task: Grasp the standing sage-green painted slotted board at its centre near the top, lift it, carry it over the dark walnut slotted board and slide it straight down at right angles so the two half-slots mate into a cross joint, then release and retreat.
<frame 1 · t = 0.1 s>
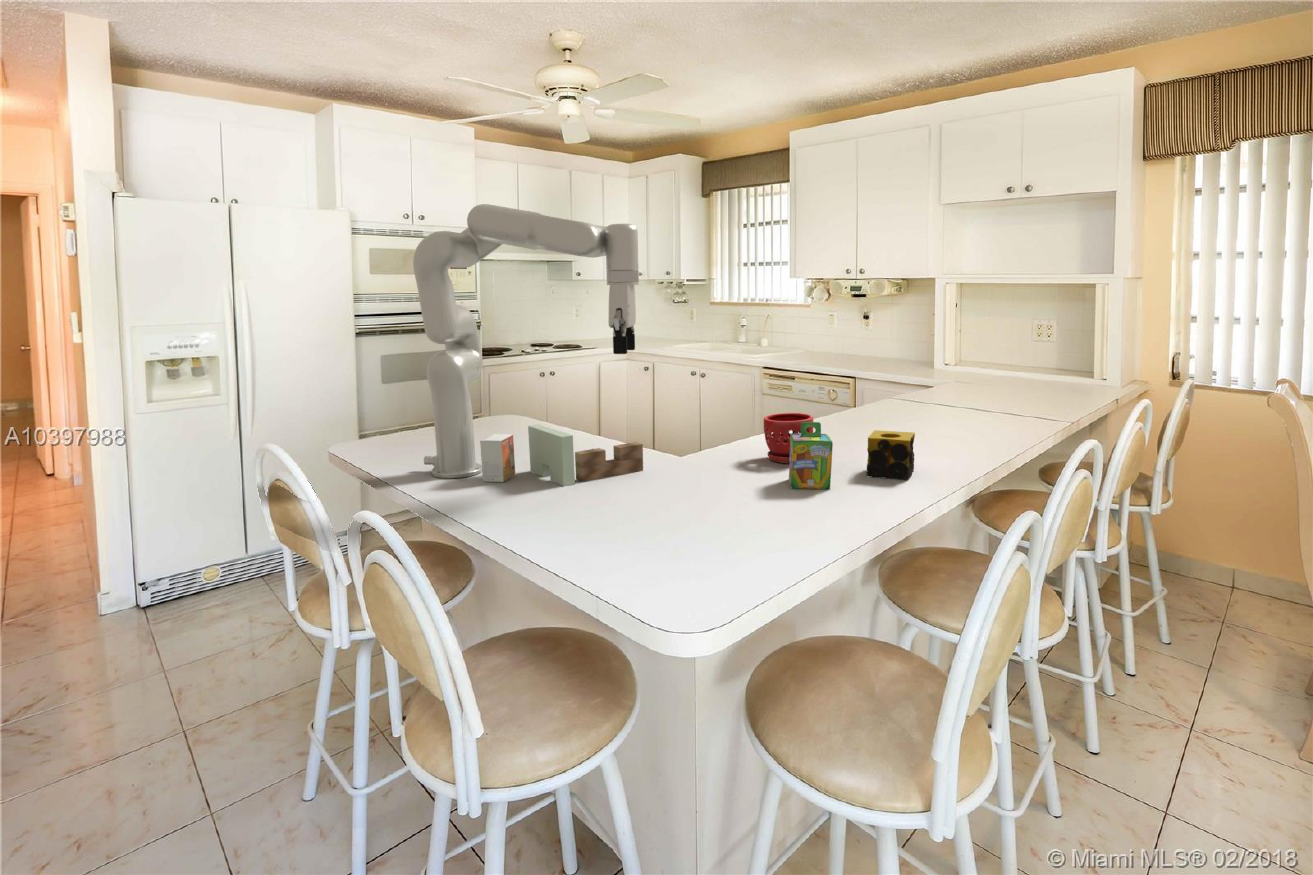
hand: (624, 351, 177), 31 cm above the worktop, fingers open, 9 cm apart
walnut board: (610, 475, 186), on the worktop
chalk box: (809, 485, 175), on the worktop
green board: (551, 477, 184), on the worktop
plant pot: (787, 460, 199), on the worktop
small box: (499, 479, 185), on the worktop
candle: (890, 475, 183), on the worktop
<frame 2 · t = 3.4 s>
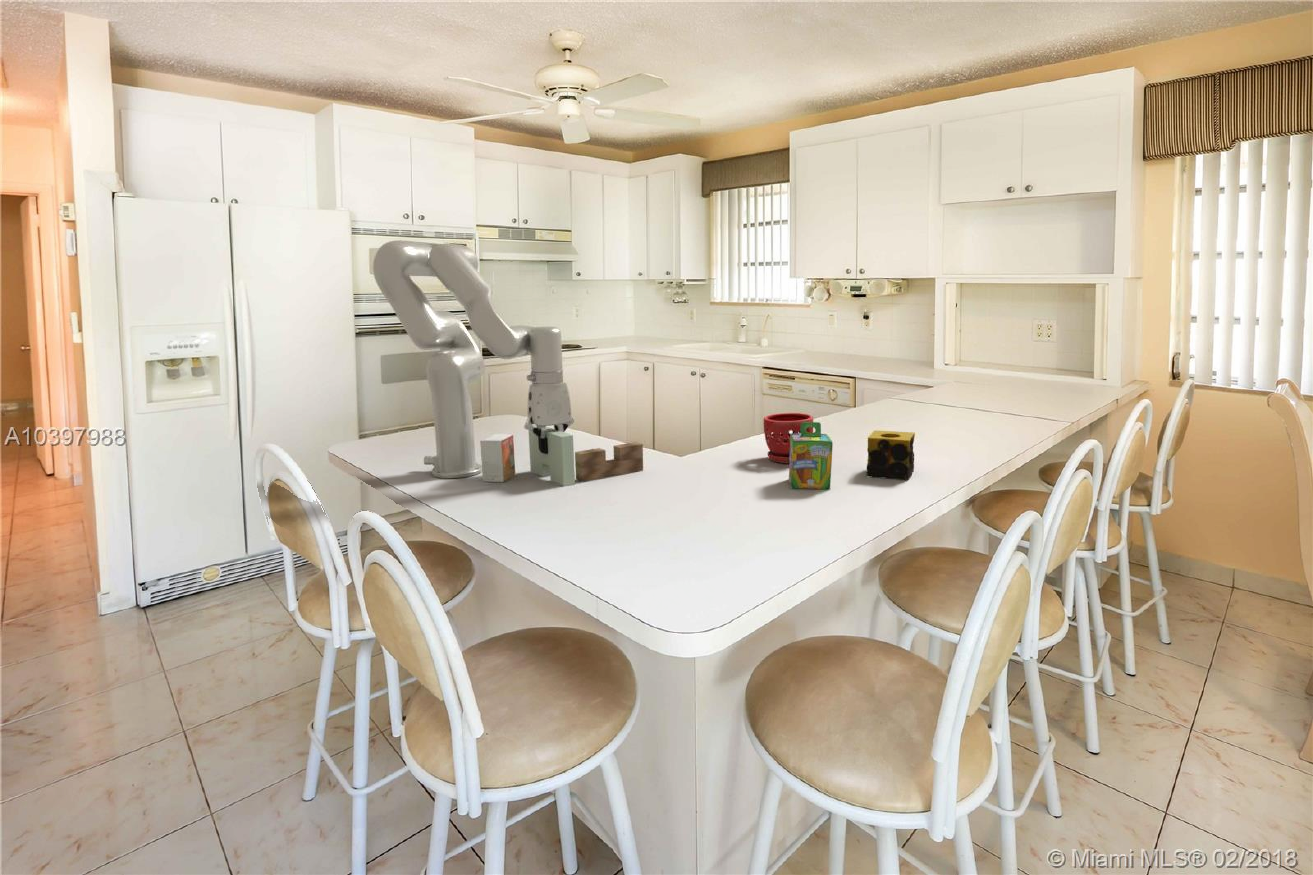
hand: (550, 451, 183), 7 cm above the worktop, fingers closed on green board, 3 cm apart
green board: (552, 477, 184), on the worktop, touching gripper
everything else where it was.
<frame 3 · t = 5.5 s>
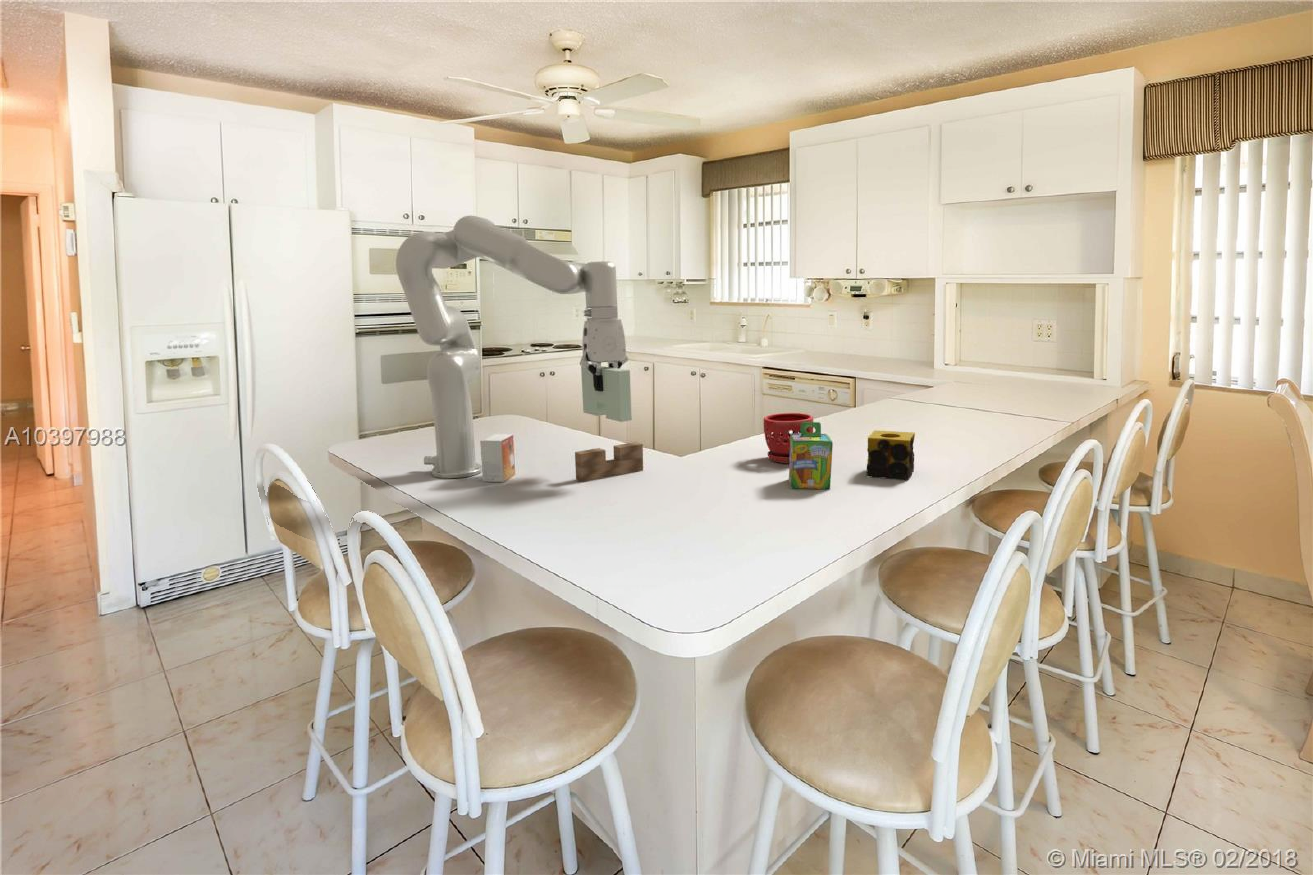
hand: (605, 389, 181), 22 cm above the worktop, fingers closed on green board, 3 cm apart
green board: (606, 416, 183), point 15 cm above the worktop, touching gripper
everything else where it was.
when the fingers open (9 cm above the worktop, at t = 8.0 s): green board drops 2 cm, resting on walnut board.
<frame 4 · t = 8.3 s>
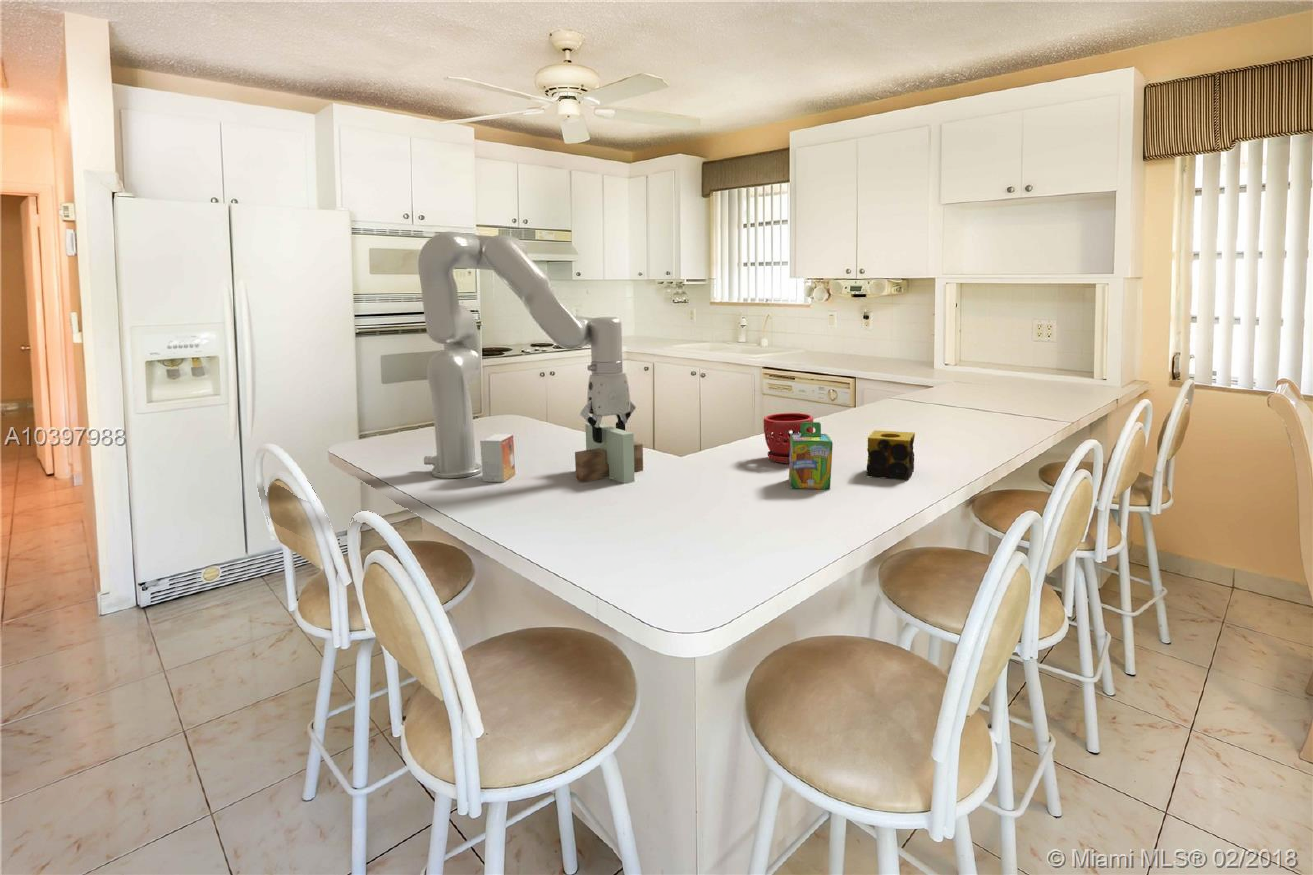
hand: (609, 439, 184), 9 cm above the worktop, fingers open, 6 cm apart
green board: (609, 475, 186), resting on walnut board
everything else where it was.
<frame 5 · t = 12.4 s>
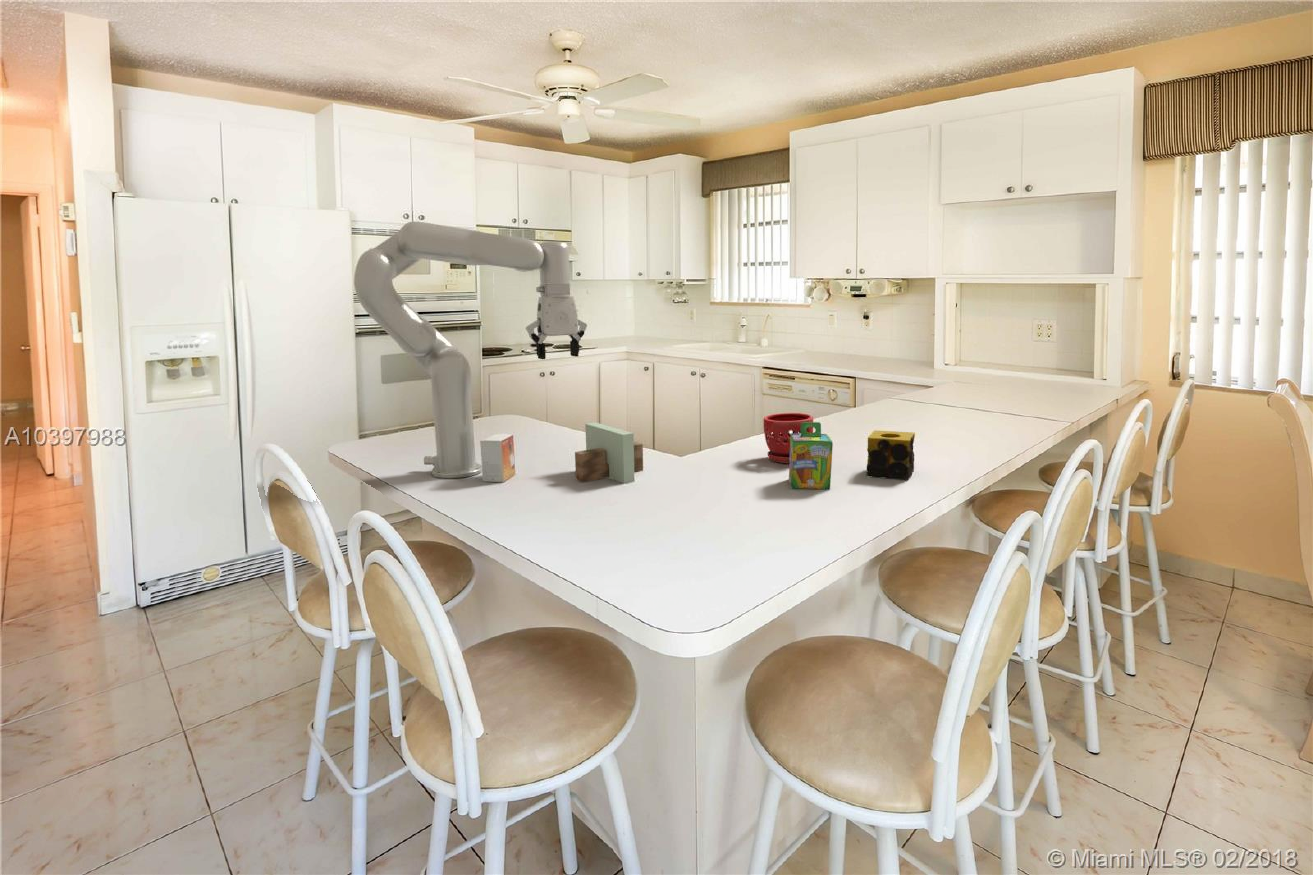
hand: (558, 357, 194), 28 cm above the worktop, fingers open, 9 cm apart
nothing on the worktop moved.
at the end: green board 0.1 cm off-centre on the walnut board, point 0.0 cm above the walnut board's base; green board tilted 0°; the gripper is holding nothing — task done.
